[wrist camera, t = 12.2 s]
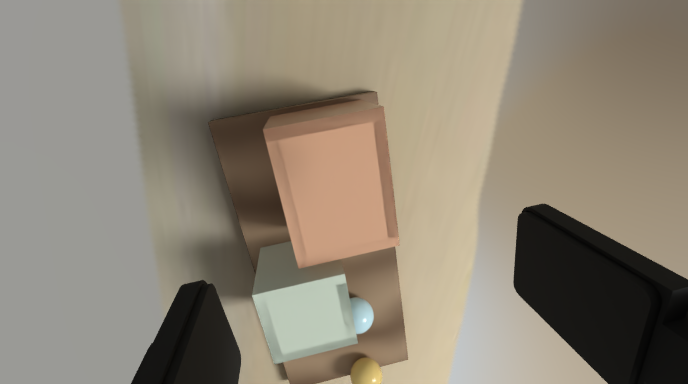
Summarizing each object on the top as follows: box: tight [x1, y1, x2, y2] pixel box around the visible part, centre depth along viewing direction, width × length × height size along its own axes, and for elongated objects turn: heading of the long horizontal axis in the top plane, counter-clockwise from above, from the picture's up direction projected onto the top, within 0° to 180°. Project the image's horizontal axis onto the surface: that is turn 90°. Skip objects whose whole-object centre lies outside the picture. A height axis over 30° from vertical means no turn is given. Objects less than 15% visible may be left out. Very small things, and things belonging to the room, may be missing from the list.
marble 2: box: [350, 357, 382, 384], centre depth 30 cm, size 3×3×3 cm
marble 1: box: [350, 297, 374, 334], centre depth 27 cm, size 3×3×3 cm
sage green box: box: [252, 241, 358, 364], centre depth 24 cm, size 6×6×6 cm
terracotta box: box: [263, 100, 400, 269], centre depth 21 cm, size 9×7×6 cm
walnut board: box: [208, 91, 408, 384], centre depth 28 cm, size 26×12×1 cm, turn 9°
